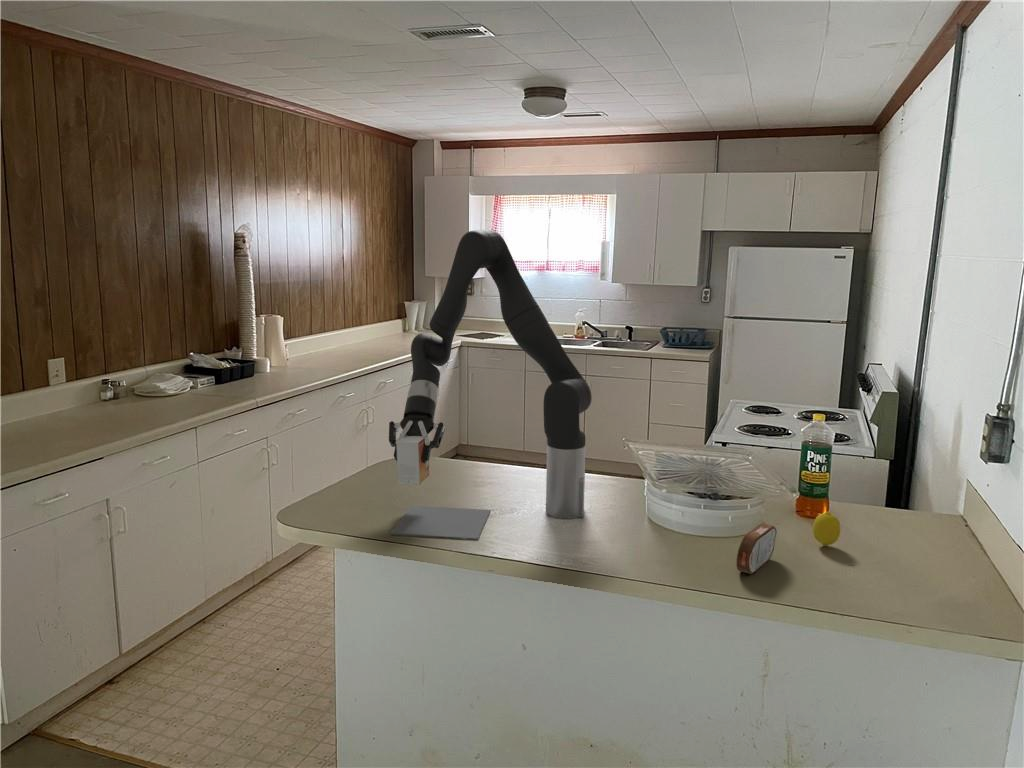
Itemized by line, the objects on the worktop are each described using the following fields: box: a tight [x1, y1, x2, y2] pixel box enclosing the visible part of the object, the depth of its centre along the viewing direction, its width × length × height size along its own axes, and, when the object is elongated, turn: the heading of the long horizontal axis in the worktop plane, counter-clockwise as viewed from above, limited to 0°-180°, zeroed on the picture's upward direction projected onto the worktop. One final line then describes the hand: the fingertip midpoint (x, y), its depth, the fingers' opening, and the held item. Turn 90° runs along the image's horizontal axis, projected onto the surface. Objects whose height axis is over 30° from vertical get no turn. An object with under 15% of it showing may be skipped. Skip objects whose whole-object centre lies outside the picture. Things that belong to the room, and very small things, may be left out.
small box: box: [396, 435, 430, 486], centre depth 184 cm, size 8×6×10 cm
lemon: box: [812, 511, 841, 547], centre depth 166 cm, size 6×6×8 cm
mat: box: [390, 505, 491, 540], centre depth 179 cm, size 20×18×1 cm
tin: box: [735, 521, 777, 575], centre depth 156 cm, size 15×3×8 cm, turn 141°
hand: (410, 461), depth 182 cm, fingers closed on small box, 6 cm apart
